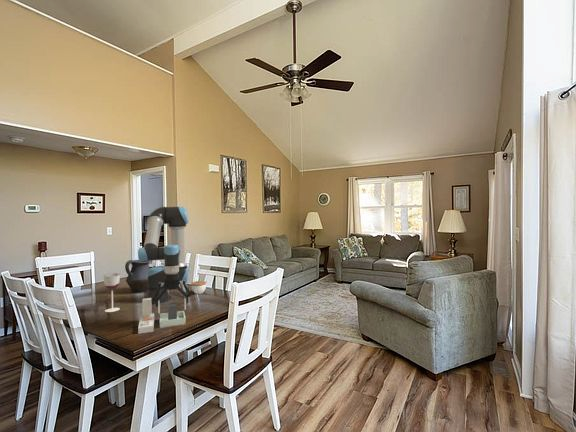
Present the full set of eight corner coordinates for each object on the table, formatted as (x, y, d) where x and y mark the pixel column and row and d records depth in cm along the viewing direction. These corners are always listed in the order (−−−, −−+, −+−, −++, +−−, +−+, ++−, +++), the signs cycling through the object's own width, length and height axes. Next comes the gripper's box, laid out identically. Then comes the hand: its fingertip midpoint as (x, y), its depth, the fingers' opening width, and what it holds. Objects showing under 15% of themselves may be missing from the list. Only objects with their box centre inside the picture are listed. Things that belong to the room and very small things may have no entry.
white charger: (143, 315, 171) (142, 298, 170) (151, 314, 172) (151, 297, 172) (142, 318, 166) (142, 301, 166) (151, 317, 168) (151, 300, 168)
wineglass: (103, 313, 183) (103, 277, 183) (104, 308, 192) (104, 274, 191) (120, 310, 187) (119, 275, 187) (120, 306, 196) (120, 272, 195)
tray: (159, 328, 160) (159, 321, 160) (159, 319, 172) (159, 313, 172) (185, 324, 165) (185, 318, 165) (184, 316, 177) (183, 310, 177)
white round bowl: (193, 291, 232) (193, 279, 232) (207, 290, 233) (207, 278, 233) (189, 295, 221) (189, 282, 221) (204, 294, 222) (204, 282, 222)
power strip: (141, 316, 177) (141, 309, 177) (154, 315, 179) (154, 308, 179) (138, 333, 153) (138, 325, 153) (153, 331, 155) (153, 323, 155)
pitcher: (161, 289, 236) (160, 258, 236) (134, 296, 218) (133, 262, 217) (145, 286, 247) (145, 255, 247) (118, 292, 229) (118, 259, 228)
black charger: (168, 320, 170) (167, 303, 170) (176, 318, 171) (176, 302, 171) (168, 323, 165) (168, 306, 165) (176, 321, 167) (176, 305, 167)
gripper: (146, 276, 159) (147, 316, 160) (195, 272, 169) (196, 309, 170) (147, 273, 166) (148, 311, 167) (194, 269, 176) (194, 305, 177)
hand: (172, 310), depth 168 cm, fingers open, 13 cm apart
